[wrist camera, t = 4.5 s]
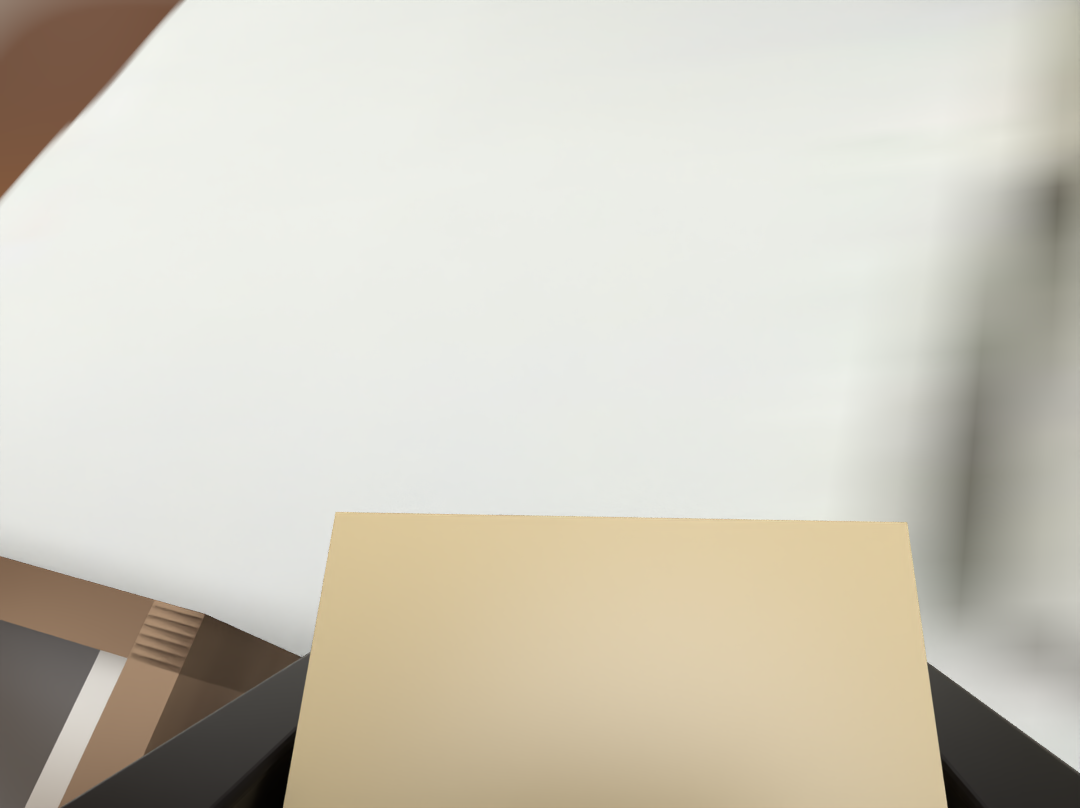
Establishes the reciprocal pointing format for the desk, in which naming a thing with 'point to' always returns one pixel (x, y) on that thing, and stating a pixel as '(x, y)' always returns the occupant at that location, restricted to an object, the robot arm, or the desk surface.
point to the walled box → (105, 679)
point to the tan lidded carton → (616, 666)
